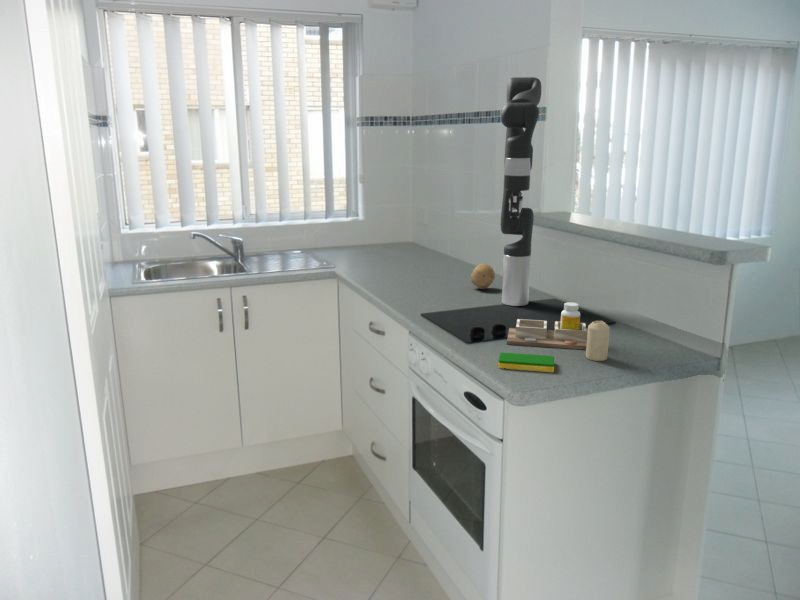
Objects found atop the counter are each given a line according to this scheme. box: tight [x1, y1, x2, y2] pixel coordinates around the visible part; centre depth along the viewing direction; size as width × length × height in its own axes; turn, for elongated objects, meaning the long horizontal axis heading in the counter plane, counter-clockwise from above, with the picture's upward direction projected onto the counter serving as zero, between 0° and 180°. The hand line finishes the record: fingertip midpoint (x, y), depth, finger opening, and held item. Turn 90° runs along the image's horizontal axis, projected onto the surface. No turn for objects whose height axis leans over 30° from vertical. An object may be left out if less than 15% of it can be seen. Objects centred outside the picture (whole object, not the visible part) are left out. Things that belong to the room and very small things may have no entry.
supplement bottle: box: [560, 301, 581, 330], centre depth 191 cm, size 5×5×10 cm
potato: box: [469, 263, 496, 290], centre depth 251 cm, size 9×9×10 cm
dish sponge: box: [497, 352, 555, 373], centre depth 171 cm, size 7×14×2 cm, turn 77°
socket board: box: [506, 318, 588, 351], centre depth 191 cm, size 13×24×4 cm, turn 78°
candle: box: [585, 320, 611, 362], centre depth 176 cm, size 6×6×10 cm
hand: (514, 228), depth 199 cm, fingers open, 8 cm apart
